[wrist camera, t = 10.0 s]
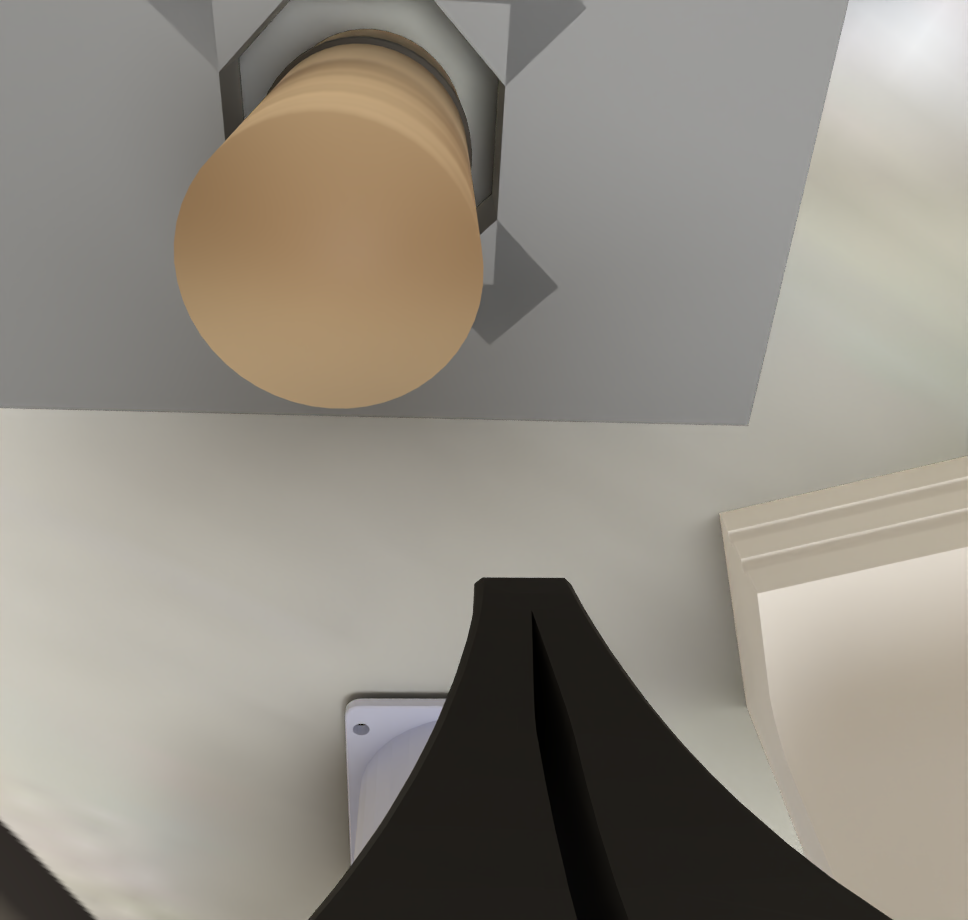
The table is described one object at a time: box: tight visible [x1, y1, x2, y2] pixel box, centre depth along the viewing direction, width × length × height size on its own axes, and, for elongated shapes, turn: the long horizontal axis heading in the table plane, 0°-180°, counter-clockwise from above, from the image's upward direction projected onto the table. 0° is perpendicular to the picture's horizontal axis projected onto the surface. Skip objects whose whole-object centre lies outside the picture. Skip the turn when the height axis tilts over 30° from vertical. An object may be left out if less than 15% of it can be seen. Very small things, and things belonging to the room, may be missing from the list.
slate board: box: [0, 0, 849, 426], centre depth 18 cm, size 12×18×2 cm, turn 87°
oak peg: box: [174, 29, 483, 409], centre depth 16 cm, size 4×4×9 cm
